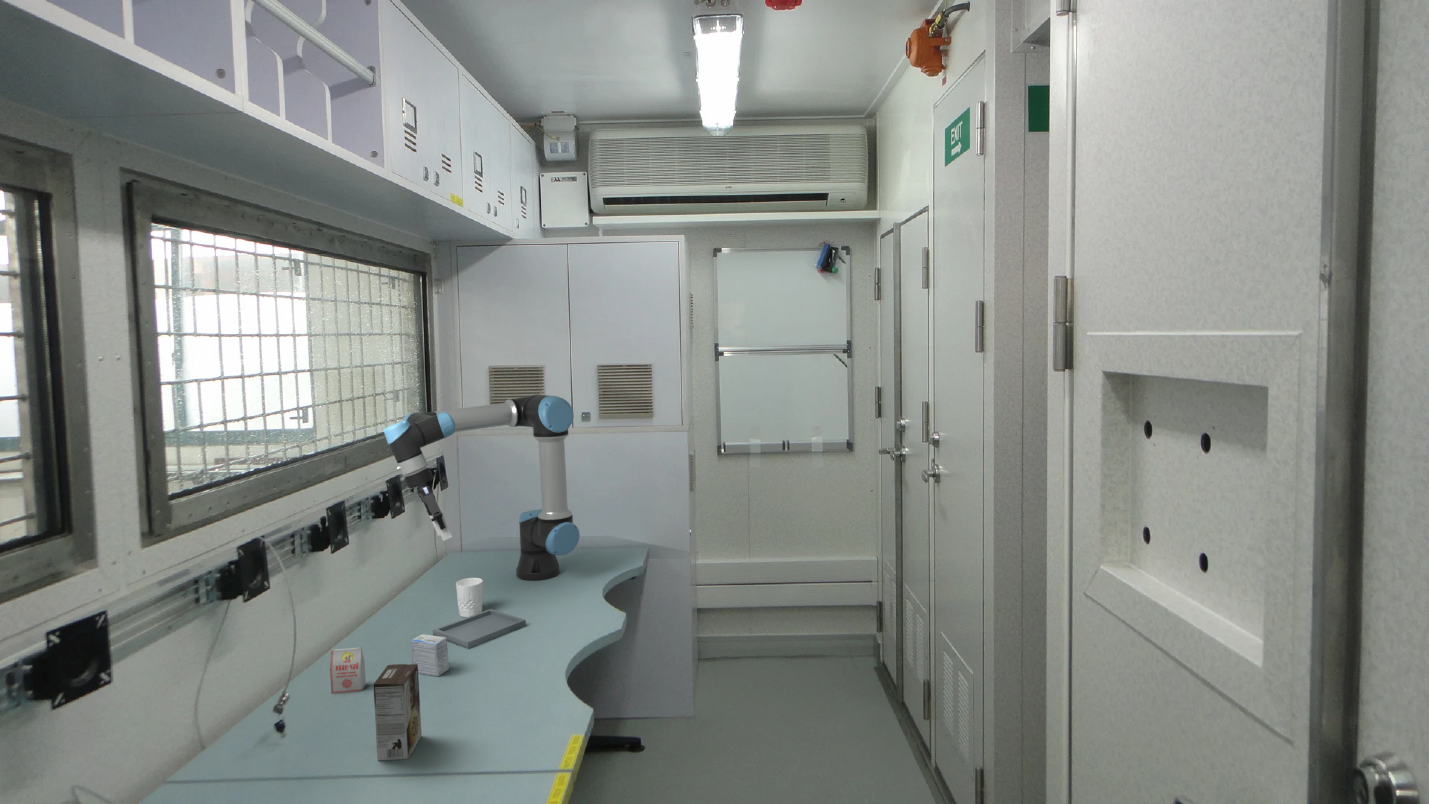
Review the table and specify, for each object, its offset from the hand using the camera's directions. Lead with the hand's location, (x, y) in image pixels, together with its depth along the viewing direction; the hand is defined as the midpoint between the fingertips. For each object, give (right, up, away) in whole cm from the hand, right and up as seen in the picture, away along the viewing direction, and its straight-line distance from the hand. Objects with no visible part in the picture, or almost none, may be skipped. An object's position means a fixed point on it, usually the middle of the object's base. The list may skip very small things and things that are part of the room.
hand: (445, 536), depth 227 cm
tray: (+13, -26, -9) cm, 30 cm away
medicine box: (+9, -28, -35) cm, 46 cm away
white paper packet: (-8, -29, -44) cm, 53 cm away
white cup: (+6, -25, +5) cm, 26 cm away
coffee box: (+16, -31, -71) cm, 79 cm away
